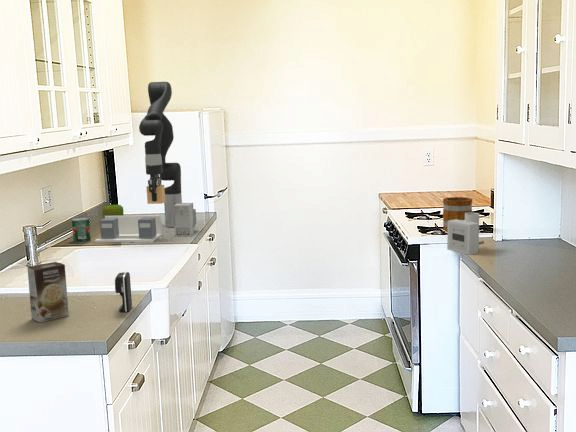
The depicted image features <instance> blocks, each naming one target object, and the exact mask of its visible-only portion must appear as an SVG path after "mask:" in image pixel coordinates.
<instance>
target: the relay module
mask: <svg viewBox="0 0 576 432" xmlns="http://www.w3.org/2000/svg"><path fill="white" fill-rule="evenodd" d="M145 188H146V199H147V200H146V201H147V202H146V203H147V205H151V204H152V205H153V204H154V205H155V204H164V202H165V189H164V188H165V184H161V185H159V184H158V186H157V188H156V190H157V192H156V193H157V201H152V194H151V192H149V185H146V187H145ZM152 190H153V188H152Z"/></svg>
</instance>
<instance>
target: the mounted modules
mask: <svg viewBox="0 0 576 432" xmlns="http://www.w3.org/2000/svg"><path fill="white" fill-rule="evenodd" d="M99 224H100V225H99V227H100V228H99V229H100V236H101V238H115V237H117V236H119V227H118V218H104V219H103V218H102V219H100V220H99ZM138 229H139V238H153V237H154V236H156V220H155V218H141V219H139V220H138Z"/></svg>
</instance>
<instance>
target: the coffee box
mask: <svg viewBox="0 0 576 432" xmlns="http://www.w3.org/2000/svg"><path fill="white" fill-rule="evenodd" d="M26 269H27V279H28V288H29V289H28V291H29V300H30V301H29V303H30V314H31V319H32V320H34V321H36V322H38V323H45V322H49V321H53V320H57V319H61V318H64V317H69V316H70V315H69V314H70V313H69V303H68V302H69V301H68V289H67V278H66V277H67V276H66V265H65V264H63V263H61V262H58V261H54V262H47V263H41V264H36V265H30V266H27V267H26Z"/></svg>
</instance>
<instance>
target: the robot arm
mask: <svg viewBox="0 0 576 432" xmlns="http://www.w3.org/2000/svg"><path fill="white" fill-rule="evenodd" d="M147 91H148V92H147V93H148V98H149V105H150V106H149V107H148V109H147V112H146V115H145V116H144V117H143V119H142V120H141V121H140V123H139V128H138V131H139V133H140V134H141V135H142V136H146V137H149V136H150V137H151V136H152V137H153V136H154V139H152V140H148V141H145V143H144V154H145V155H144V160H145V161H144V162H145V174H146V175H148V176H149V179H147V184H148V185H147V186H149V192H151V194H152V201H157V193H156V192H157V190H156V188H157V186H158V185H162V181H163V182H164V181H173V183H172V184H171V185H169V186H166V187H164V189H165V202H164V203H163V205H164V221H165V222H164V223H165V227H166V228H175V214H174V205H176V204H177V203H183V199H182V198H183V196H182V169H181V168H182V167H181V165H180V163H179V162H166V157H167V154H168V151H169V149H170V147H171V145H172V143H173V142H174V137H175V136H174V129H173V125H172V123H171V121H170V120H169V119H168V117H167V115H165V113H164V111H165V110H166V108H167V106H168V104H169V102H170V101H171V98H172V95H173V90H172V86H171V83H170V82H168V81H151V82H149V83H148V85H147ZM152 188H153V190H152Z"/></svg>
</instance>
